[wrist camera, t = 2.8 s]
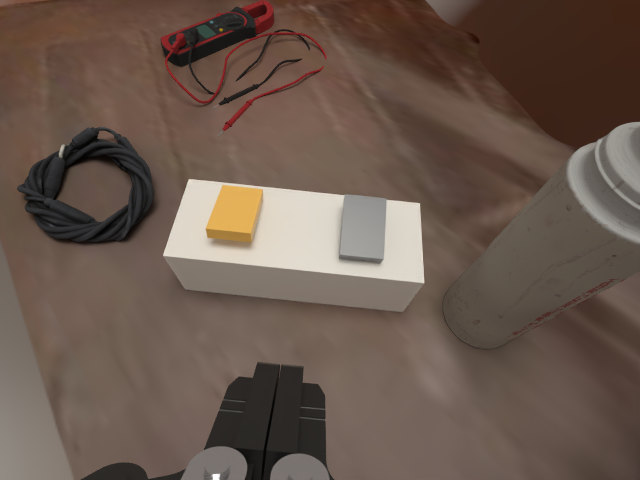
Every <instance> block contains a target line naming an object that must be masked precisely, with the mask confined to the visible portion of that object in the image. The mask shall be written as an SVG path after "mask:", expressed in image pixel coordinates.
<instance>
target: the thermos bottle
mask: <svg viewBox="0 0 640 480" xmlns="http://www.w3.org/2000/svg"><path fill="white" fill-rule="evenodd" d="M638 272H640V122H633V123H627V124H623V125H621V126H619V127H617V128H615V129H614V130H613V131H612V132H610V133H609V134H608V135H607V136H605V137H603V138H601V139H599V140H598V141H597V142H596V143H591V144H588V145H586V146H583V147H581V148H580V149H578V150H577V151H576V152H575V153H573V154H572V155H571V156H570V158H569V159H568V160H567V161H566V162H565V163H564V164H563V165H562V166H561V167H560V168H559V170H558V171H557V172H556V173H555V174H554V175H553V176H552V177H551V178H550V179H549V180H548V182H547V183H546V184H545V185H544V186H543V187H542V188H541V189H540V190H539V191H538V192H537V194H536V195H535V196H534V197H533V198H532V199H531V200H530V201H529V202H528V203H527V204H526V206H525V207H524V208H523V209H522V210H521V211H520V212H519V213H518V214H517V215H516V216H515V218H514V219H513V220H512V221H511V222H510V223H509V224H508V225H507V226H506V227H505V228H504V230H503V231H502V232H501V233H500V234H499V235H498V236H497V237H496V238H495V239H494V240H493V242H492V243H491V244H490V245H489V246H488V248H487V249H486V250H485V251H484V253H483V254H482V255H481V256H480V257H479V258H478V259H477V260H476V261H475V262H474V263H473V264H472V265H471V266H470V267H469V268H468V269H467V270H466V271H465V272H464V273H463V274H462V275H461V276H460V278H459V279H458V280H457V281H456V282H455V283H454V284H453V285H452V286H451V287H450V289H449V290H448V291H447V293H446V295H445V297H444V301H443V312H444V316H445V320H446V322H447V324H448V326H449V327H450V329H451V330H452V332H453V333H454V334H455V335H456V336H457V337H458V338H460V339H461V340H462V341H463V342H465V343H467V344H469V345H471V346H474V347H477V348H481V349H493V348H497V347H500V346H502V345H504V344H506V343H507V342H509V341H511V340H513V339H515V338H517V337H519V336H520V335H522V334H524V333H526V332H528V331H530V330H532V329H533V328H535V327H537V326H539V325H541V324H543V323H545V322H546V321H548V320H550V319H552V318H553V317H555V316H557V315H559V314H561V313H562V312H564V311H566V310H568V309H570V308H572V307H574V306H576V305H578V304H580V303H582V302H584V301H586V300H587V299H589V298H591V297H593V296H595V295H597V294H599V293H600V292H602V291H604V290H606V289H608V288H610V287H612V286H614V285H615V284H617V283H619V282H621V281H623V280H625V279H627V278H628V277H630V276H632V275H634V274H636V273H638Z"/></svg>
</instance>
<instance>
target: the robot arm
mask: <svg viewBox="0 0 640 480" xmlns="http://www.w3.org/2000/svg"><path fill="white" fill-rule="evenodd" d="M303 368H304V366H294V365H284V364H282V365H281V371H280V364H273V363H263V362H258V363H257V366H256V369H255V372H254V376H253V378H248V377H238V378H237V379H236V380H235V381H233V382H232V383H231V384H230V385H229V386H228V388H227V391H226V394H225V396H224V400H223V401H222V404H221V407H220V410H219V412H218V414H217V417H216V420H215V422H214V425H213V427H212V430H211V433H210V435H209V438H208V441H207V443H206V446H205V448H204V451H202V452H200V453H199V454H197V455H196V456H195V457H194V458H193V459H192V460H191V461H190V463H189V465H188V466H187V468H186V469H185V470H183V471H181V472H178V473H175V474H172V475H168V476H162V477H157V478H152V479H148V478H147V474H146V472H145V471H144V469H142V468H141V467H140V466H138V465H136V464H133V463H115V464H112V465H108V466H106V467H103V468H101V469H99V470H97V471H95V472H94V473H92V474H90V475H88V476H87V477H85V478H83V479H81V480H334V479H333V478H332V476H331V475H330V473H329V471H328V468H327V465H326V427H325V395H324V393H323V391H322V390H321V388H320V386H319V385H318V384H310V383H302V381H303ZM279 372H280V376H279Z"/></svg>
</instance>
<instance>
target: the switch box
mask: <svg viewBox="0 0 640 480" xmlns="http://www.w3.org/2000/svg"><path fill="white" fill-rule="evenodd" d="M222 185H228V186H237V187H247V188H256V189H263V202H262V206H261V209H260V213H259V217H258V221H257V224H256V228H255V232H254V236H253V239H252V242H243V241H233V240H224V239H214V238H207V233H206V226H207V223H208V221H209V218H210V216H211V213H212V211H213V208H214V205H215V203H216V200H217V198H218V195H219V193H220V190H221V188H222ZM344 196H345V195H335V194H326V193H316V192H307V191H297V190H288V189H278V188H269V187H259V186H250V185H240V184H231V183H221V182H212V181H203V180H193V179H189V181H188V183H187V186H186V189H185V192H184V195H183V198H182V201H181V204H180V207H179V210H178V213H177V216H176V219H175V222H174V225H173V228H172V231H171V234H170V236H169V239H168V242H167V245H166V248H165V251H164V254H163V257H164V258H165V260H166V261H167V263H168V264H169V266H170V267H171V269H172V270H173V272H174V273H175V275H176V276H177V278H178V279H179V281H180V282H181V284H182V285H183V287H184V288H185V290H194V291H203V292H213V293H223V294H232V295H242V296H251V297H261V298H271V299H280V300H290V301H299V302H309V303H319V304H328V305H338V306H348V307H357V308H367V309H376V310H386V311H396V312H403V311H404V310H405V308H406V307H407V306H408V304H409V303H410V302H411V300H412V299H413V298H414V296H415V295H416V294H417V292H418V291H419V290H420V288H421V287H422V286H423V284H424V270H423V252H422V235H421V217H420V203H411V202H402V201H392V200H387V203H386V225H385V247H384V260H383V261H382V262H371V261H362V260H352V259H343V258H339V248H340V237H341V225H342V213H343V202H344Z"/></svg>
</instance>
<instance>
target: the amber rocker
mask: <svg viewBox="0 0 640 480" xmlns="http://www.w3.org/2000/svg"><path fill="white" fill-rule="evenodd" d="M262 202H263V189H256V188H247V187H237V186H228V185H222V188H221V190H220V193H219V195H218V198H217V200H216V203H215V205H214V208H213V211H212V213H211V216H210V218H209V221H208V223H207V226H206V233H207V238H214V239H224V240H233V241H243V242H252V239H253V236H254V232H255V228H256V224H257V221H258V217H259V213H260V209H261V206H262Z"/></svg>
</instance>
